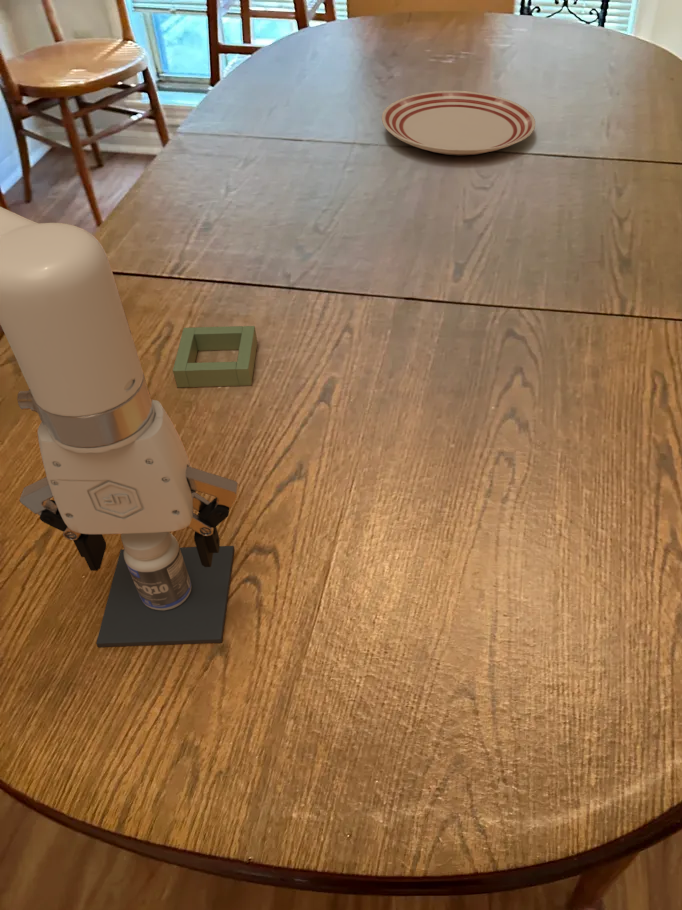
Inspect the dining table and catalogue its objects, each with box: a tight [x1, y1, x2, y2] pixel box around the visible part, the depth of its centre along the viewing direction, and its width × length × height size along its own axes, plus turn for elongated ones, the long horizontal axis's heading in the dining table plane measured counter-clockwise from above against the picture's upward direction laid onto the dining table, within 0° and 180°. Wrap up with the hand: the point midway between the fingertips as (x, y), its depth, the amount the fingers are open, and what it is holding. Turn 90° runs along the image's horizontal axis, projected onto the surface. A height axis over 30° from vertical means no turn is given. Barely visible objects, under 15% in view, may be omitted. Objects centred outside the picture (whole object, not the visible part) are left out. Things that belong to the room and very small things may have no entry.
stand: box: [172, 325, 258, 388], centre depth 96 cm, size 9×9×2 cm
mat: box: [95, 545, 235, 648], centre depth 73 cm, size 11×11×1 cm
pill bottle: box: [120, 532, 191, 611], centre depth 70 cm, size 5×5×8 cm
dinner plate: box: [381, 90, 536, 156], centre depth 141 cm, size 27×27×3 cm
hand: (154, 556), depth 69 cm, fingers open, 9 cm apart
